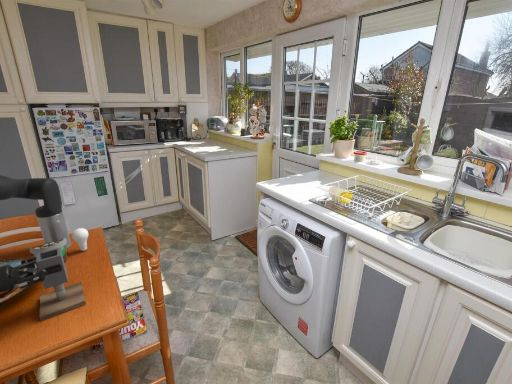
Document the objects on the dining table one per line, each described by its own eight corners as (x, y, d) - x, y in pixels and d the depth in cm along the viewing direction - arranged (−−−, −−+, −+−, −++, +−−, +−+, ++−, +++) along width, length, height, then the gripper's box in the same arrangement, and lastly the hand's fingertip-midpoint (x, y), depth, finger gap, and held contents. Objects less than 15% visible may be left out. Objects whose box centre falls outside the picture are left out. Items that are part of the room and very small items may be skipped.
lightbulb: (84, 254, 117) (79, 232, 113) (72, 253, 118) (67, 231, 114) (95, 247, 122) (90, 226, 118) (83, 246, 123) (78, 225, 120)
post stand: (41, 298, 91) (34, 278, 88) (82, 285, 98) (77, 265, 95) (40, 321, 82) (33, 299, 79) (85, 304, 89) (80, 283, 86)
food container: (36, 275, 103) (29, 253, 100) (35, 268, 108) (28, 246, 104) (73, 263, 111) (67, 242, 108) (71, 256, 115) (65, 236, 112)
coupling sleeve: (45, 279, 87) (37, 253, 84) (67, 272, 91) (59, 247, 88) (44, 289, 83) (36, 262, 80) (67, 281, 86) (60, 255, 83)
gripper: (-19, 284, 70) (59, 262, 80) (-10, 259, 81) (57, 243, 91) (-9, 307, 73) (65, 283, 82) (-2, 280, 84) (63, 261, 93)
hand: (61, 262), depth 86 cm, fingers closed on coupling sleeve, 6 cm apart
